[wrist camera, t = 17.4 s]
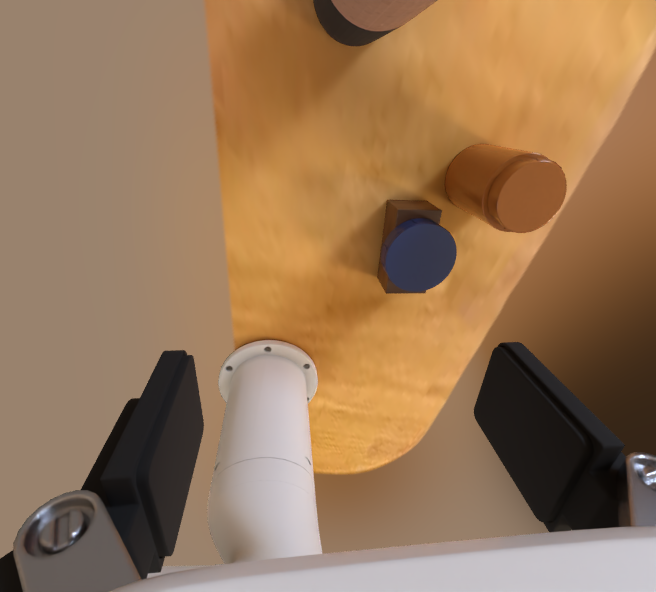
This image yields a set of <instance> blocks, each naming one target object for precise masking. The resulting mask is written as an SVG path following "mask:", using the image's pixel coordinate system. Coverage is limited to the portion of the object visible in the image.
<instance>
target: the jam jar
mask: <svg viewBox="0 0 656 592" xmlns="http://www.w3.org/2000/svg"><path fill="white" fill-rule="evenodd" d="M566 186H567V185H566V178H565V174H564V172H563V171H562V169H561V167H560V166H559V165H558V164H557V163H556V162H554V161H551V160H549V159H548V158H547V157H545V156H543V155H541V154H538V153H533V152H528V151H522V150H516V149H511V148H505V147H500V146H494V145H489V144H477V145H473V146H470V147H468V148H466V149H465V150H463V151H462V152H460V153H459V154H458V155H457V156H456V157H455V159H454V160H453V161H452V163H451V164H450V166H449V168H448V171H447V174H446V179H445V189H446V193H447V196H448V198H449V199H450V201H451V202H452V203H453V204H454V205H456V206H457V207H459V208H461V209H462V210H464V211H466V212H468V213H469V214H471V215H473V216H475V217H476V218H478V219H480V220H482V221H483V222H485V223H487V224H489V225H491V226H492V227H494V228H496V229H498V230H500V231H505V232H516V233H526V232H531V231H534V230H536V229H538V228H540V227H542V226H544V225H545V224H546V223H548V222H549V221H550V220H551V219H552V218H553V217H554V216H555V215H556V213H557V212H558V210H559V209H560V207H561V205H562V203H563V201H564V198H565V195H566Z"/></svg>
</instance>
